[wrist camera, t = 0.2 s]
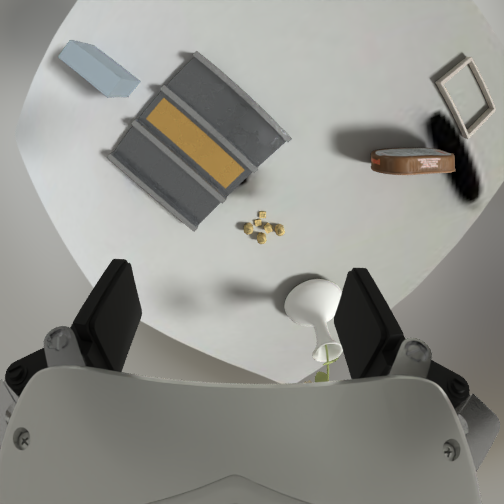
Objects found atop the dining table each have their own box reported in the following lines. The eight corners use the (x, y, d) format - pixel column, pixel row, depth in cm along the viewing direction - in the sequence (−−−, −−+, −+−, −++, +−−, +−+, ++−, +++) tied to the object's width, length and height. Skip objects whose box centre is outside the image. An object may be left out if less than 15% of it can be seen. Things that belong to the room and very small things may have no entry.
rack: (199, 53, 30) (196, 50, 28) (289, 136, 37) (292, 138, 34) (114, 154, 37) (107, 157, 34) (196, 224, 43) (194, 231, 41)
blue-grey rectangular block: (93, 45, 27) (70, 39, 21) (141, 81, 31) (121, 78, 25) (82, 60, 28) (58, 57, 22) (128, 96, 32) (107, 97, 26)
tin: (362, 165, 39) (386, 181, 32) (361, 146, 37) (386, 158, 30) (435, 161, 38) (464, 176, 30) (435, 144, 36) (465, 156, 29)
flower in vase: (300, 266, 48) (332, 390, 27) (350, 283, 50) (398, 392, 29) (270, 316, 54) (281, 431, 33) (318, 328, 57) (343, 432, 35)
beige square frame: (466, 56, 26) (471, 56, 25) (491, 108, 31) (496, 110, 29) (435, 82, 30) (440, 82, 29) (463, 137, 35) (468, 139, 33)
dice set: (285, 227, 45) (286, 232, 43) (261, 244, 46) (261, 250, 45) (265, 204, 43) (266, 209, 41) (241, 224, 44) (241, 229, 43)
